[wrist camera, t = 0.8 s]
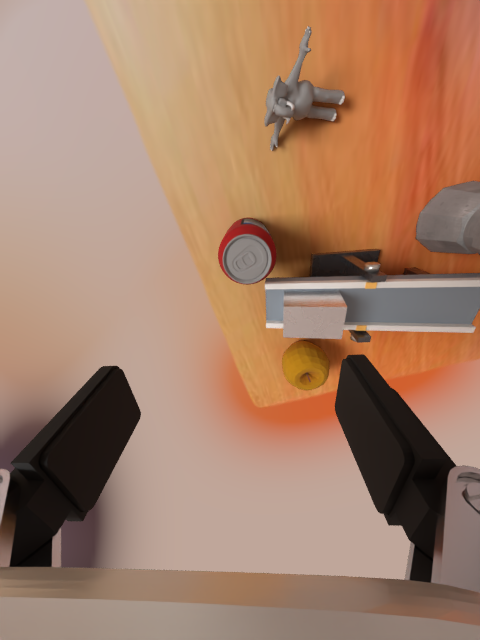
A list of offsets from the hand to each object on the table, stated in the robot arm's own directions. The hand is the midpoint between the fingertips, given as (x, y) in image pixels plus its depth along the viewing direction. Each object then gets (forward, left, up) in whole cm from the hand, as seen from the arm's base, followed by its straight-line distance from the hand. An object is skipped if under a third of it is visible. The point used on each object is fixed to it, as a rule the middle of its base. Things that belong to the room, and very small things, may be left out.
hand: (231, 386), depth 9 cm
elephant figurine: (-16, +8, -29) cm, 34 cm away
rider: (+7, +9, -21) cm, 24 cm away
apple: (+21, +10, -29) cm, 37 cm away
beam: (+7, +16, -21) cm, 27 cm away
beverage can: (-1, +1, -29) cm, 29 cm away
